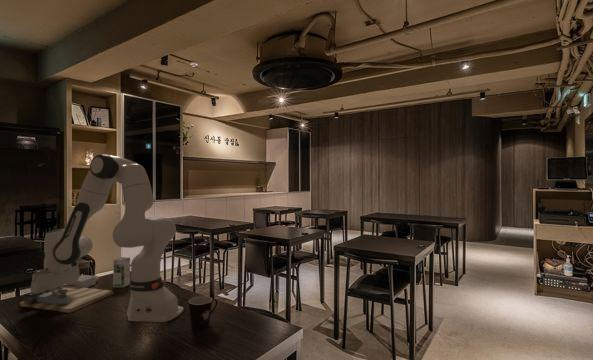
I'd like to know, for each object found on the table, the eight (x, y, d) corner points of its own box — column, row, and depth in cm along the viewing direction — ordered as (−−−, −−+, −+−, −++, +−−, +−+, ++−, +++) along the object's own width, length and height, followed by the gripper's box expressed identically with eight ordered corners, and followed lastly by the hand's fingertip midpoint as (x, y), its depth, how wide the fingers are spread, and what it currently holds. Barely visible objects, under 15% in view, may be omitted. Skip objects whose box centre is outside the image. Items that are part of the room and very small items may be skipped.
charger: (105, 281, 179) (81, 290, 164) (91, 280, 181) (66, 289, 167) (105, 272, 179) (81, 281, 164) (91, 271, 181) (66, 279, 167)
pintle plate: (113, 294, 160) (113, 279, 160) (69, 313, 137) (69, 296, 137) (67, 288, 166) (68, 274, 166) (18, 306, 144) (18, 289, 143)
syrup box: (112, 287, 169) (112, 258, 169) (120, 283, 175) (120, 256, 175) (122, 288, 168) (122, 259, 168) (130, 284, 174) (130, 256, 174)
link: (73, 301, 145) (73, 295, 145) (62, 305, 140) (62, 299, 140) (37, 297, 150) (37, 291, 150) (26, 301, 145) (26, 295, 145)
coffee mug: (190, 333, 121) (190, 306, 121) (186, 324, 128) (186, 298, 128) (222, 327, 126) (222, 301, 126) (216, 318, 134) (216, 293, 134)
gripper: (38, 272, 137) (38, 306, 137) (81, 260, 157) (81, 289, 157) (26, 271, 139) (26, 304, 139) (71, 259, 159) (71, 288, 159)
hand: (56, 296), depth 148 cm, fingers closed
